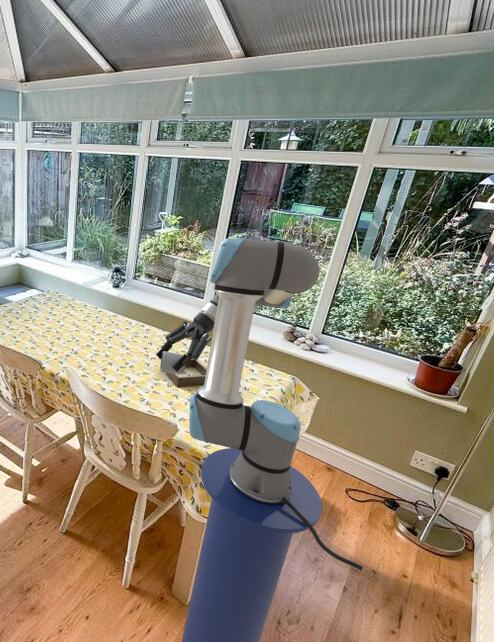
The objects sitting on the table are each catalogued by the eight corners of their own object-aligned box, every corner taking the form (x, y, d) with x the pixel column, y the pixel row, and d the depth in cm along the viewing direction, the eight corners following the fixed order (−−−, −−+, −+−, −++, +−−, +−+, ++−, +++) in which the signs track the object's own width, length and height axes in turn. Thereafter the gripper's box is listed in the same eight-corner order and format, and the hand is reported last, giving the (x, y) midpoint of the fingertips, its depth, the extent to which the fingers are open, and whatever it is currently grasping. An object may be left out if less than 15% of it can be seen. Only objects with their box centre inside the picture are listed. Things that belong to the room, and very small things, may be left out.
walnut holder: (213, 385, 169) (215, 375, 167) (176, 388, 166) (178, 377, 164) (194, 367, 184) (195, 358, 182) (160, 369, 181) (162, 360, 179)
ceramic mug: (183, 378, 147) (186, 359, 144) (160, 375, 148) (162, 356, 145) (181, 364, 157) (184, 346, 154) (159, 361, 158) (161, 343, 155)
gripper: (235, 335, 141) (190, 383, 141) (193, 313, 160) (154, 355, 161) (225, 323, 137) (179, 371, 137) (184, 302, 157) (144, 344, 157)
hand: (166, 363), depth 149 cm, fingers closed on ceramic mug, 10 cm apart
